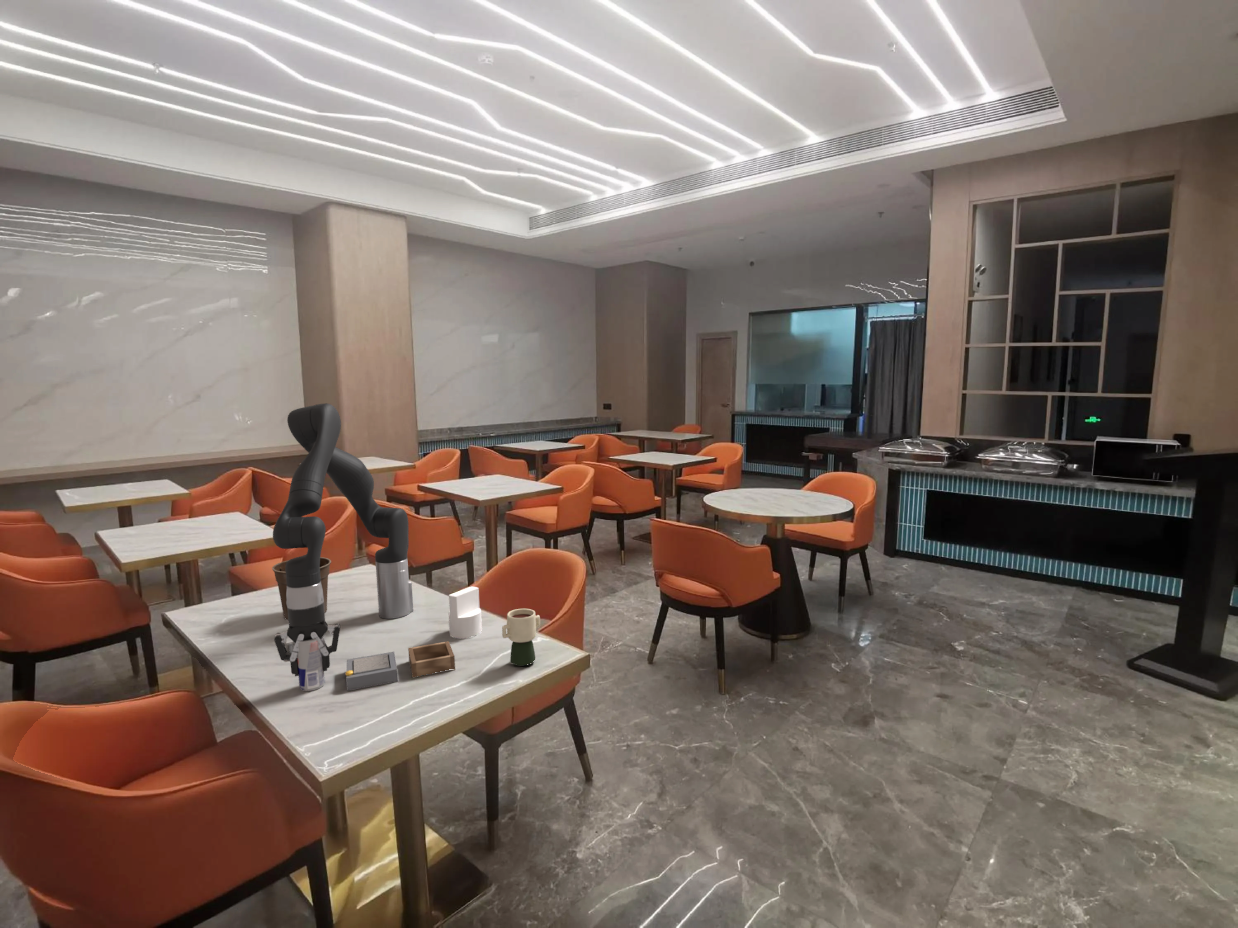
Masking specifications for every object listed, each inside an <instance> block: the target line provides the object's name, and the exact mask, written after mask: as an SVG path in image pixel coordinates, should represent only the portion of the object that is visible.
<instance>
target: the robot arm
mask: <svg viewBox="0 0 1238 928" xmlns="http://www.w3.org/2000/svg"><path fill="white" fill-rule="evenodd" d="M339 413H340V412H338V410H337V408H336V407H335V406H334V405H332V404H331V403H318V404H314V405H308V406H304V407H300V408H299V407H298V408H296V409H293V410H291V411H290V412H289V414H288V415H287V419H286V420H287V421H286V422H287V425H288V426H287V427H288V428H289V432H290V433H291V435H292V437H294V439H295V440H296V441H297V442H298V444H299V445H300V446H301V447H302V448H303V449H304V451H306V452H307V453H308V454H307V455H306V457H305V458H304V459H303V460H302V462H301V463H300V464H299V466H297V468H296V469H295V471H294V473H293V476H292V478H291V481H290V487H289V493H288V497H287V501H286V503H285V505H284V508H283V509H282V511H281V513H280V515H279V516H278V518H277V520H276V522H275V524H274V526H273V531H272V540H273V542H274V544H275V545H276V546H277V547H278V548H280V549H285V550H286V549H287V550H289V549H290V550H291V549H307V552H306V554H303V555H300V556H296V557H292V558H290V559H289V561H287V560H286V561H287V563H286V565H285V571H286V582H287V593H286V598H287V601H286V604H287V610H288V620H287V621H288V629H287V631H283V632H277V633H275V636H274V640H273V641H274V643H275V645H276V646H275V647H276V648H277V649H276V650H277V652H278V655H279V658H280V660H281V661H289V662H290V670H291V671H290V672H291V674H292V675H294V677H299V676H298V663H297V654H298V652H299V648H298V643H299V641H304V640H311V639H317V640H318V646H319V649H321V652H322V654H323V656H322V659H323V671H324V672H327V671H328V669H329V668H330V666H331V658H330V655H331V654H332V653H335V652H337V650H338V644H339V638H340V632H341V625H340V623H336V624H332V625H331V624H328V623H327V622H326V617H325V616H326V613H324V600H323V599H324V598H323V589H322V585H321V576H320V557H321V555H322V554H321V553H322V550H323V549H322V548H323V545H324V541H325V536H326V531H327V528H326V524H325V522H324V521H323V520H322V518H320V517H318V516H308V515H311V514H314V513H317V512H318V511H319V510H320V508H321V505H322V499H323V492H324V486H325V479H326V476H329V478H330V479H331V480H332V482H333V483H334V485H335V486H336V487H337V489H338V490H339V492H340V493H341V494H343V496H344V497H345V498H346V499H347V501H348V503H349V504H350V505H351V507H352V508H353V509H354V511H356V514H357V515H358V517H359V518H360V520H361V522H362V523H363V525H364V527H365V528H366V529H365V530H367V532H368V533H369V534H370V535H371V536H372V537H375V538H381V539H388V545H387V546H385V547H382V548H380V549H378V550H377V551H376V552H375V554H374V558H375V559H374V561H375V572H376V573H375V574H376V576H375V577H376V589H377V604H378V616H379V617H380V618H381V619H388V620H389V619H391V620H392V619H399V618H402V617H405V616H407V615H409V614H410V613H411V612H414V599H413V585H412V584H413V583H412V581H411V580H409V578H410V577H409V565H408V564H409V563H408V552H409V540H410V539H409V527H410V526H409V518H408V514H407V512H406V510H405V509H403V508H400V507H382V506H380V505H379V504H378V502H376V500H375V499H374V497H373V493H374V488H375V487H374V486H375V479H374V477H373V475H372V473H371V472H370V471H369V469H368V468H367V466H366V465H365V463H364V462H363V461H362V460H361V459H359V457H357V456H356V455H353V454H352V453H349V452H347V451H345V450H342V449H341V448H338V447H336V446H337V443H338V441H339V437H340V434H341V430H342V429H341V428H342V421H341V420H342V419H341V416H340V414H339ZM326 474H327V475H326ZM327 631H329V634H330V636H332V640H331V645H327V642H326V641H325V638H324V636H325V634H326V633H327ZM287 637H289V638H290V639H291V640H292V641H293V642H294V643H295V644H294V647H293V650H292V653H289V651H288V650H286V645H285V643H286V638H287ZM321 639H322V641H321ZM319 643H320V644H319Z"/></svg>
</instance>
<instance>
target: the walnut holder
mask: <svg viewBox="0 0 1238 928" xmlns="http://www.w3.org/2000/svg"><path fill="white" fill-rule="evenodd" d="M407 650H408V663H409V666H410V667H409V668H410V671H411V677H412V678H413V677H414V678H418V677H417V676H419V677H422V676H421V675H424V676H427V675H426V674H430V675H433V674H432V673H435V672H440V671H445V670H449V669H455V670H456V663H455V662H456V658H455V653H454V651H453V649H452V646H451V644H450V642H449V641H442V642H436V643H430V644H425V645H418V646H411V647H408V648H407ZM445 672H446V671H445ZM440 673H441V672H440ZM435 674H436V673H435Z"/></svg>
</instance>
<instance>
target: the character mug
mask: <svg viewBox="0 0 1238 928" xmlns="http://www.w3.org/2000/svg"><path fill="white" fill-rule="evenodd" d="M540 627H541V617H540V615H539V614H537V615H536V611H535V610H533V609H530V608H518V609H517V608H516V609H513V610H510V611H508V612H507V613H506V624H504V625H502V627H501V632H502V633H501V634H502V638H503V639H507V638H508V639H509V641H511V642H512V643H511V647H510V659H509V661H510V662H509V663H511V664H512V665H515V666H521V667H522V666H523V665H527V664H530V663H532V662H533V661H534V660H535V661H536V654H535V653H536V652H535V647H534V642H533V640H534V639H535V638H536V637H537V636H536V635H537V629H538V628H540ZM533 663H534V662H533ZM533 663H532V664H533ZM530 665H531V664H530ZM523 667H524V666H523Z"/></svg>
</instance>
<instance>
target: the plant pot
mask: <svg viewBox="0 0 1238 928" xmlns="http://www.w3.org/2000/svg"><path fill="white" fill-rule="evenodd" d="M289 560H290V559H289ZM289 560H285V561H284V560H283V561H281V562H278V563H275V564H274V565H273V566H272V567H271V569H272V571H273V572H274V577H275V582H276V583H277V587H278V592H279V596H280V597H279V598H280V602H281V608H282V615H283V618H284V619H285V620H287V621H288V610H287V604H286V601H287V598H286V593H287V582H286V571H285V565H286V563H287V561H289ZM331 563H332V560H331V559H330V558H328V557H321V556H320V576H321V585H322V589H323V598H324V599H323V600H324V613H325V614H326V613H327V611H328V585H329V584H328V583H329V575H330V566H331Z"/></svg>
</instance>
